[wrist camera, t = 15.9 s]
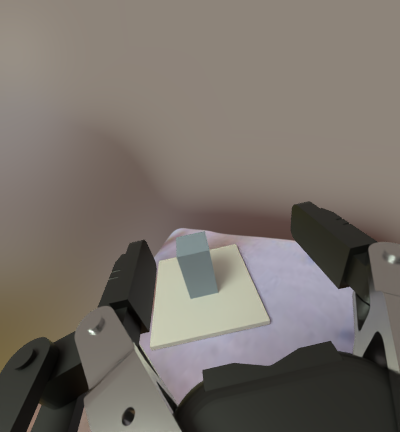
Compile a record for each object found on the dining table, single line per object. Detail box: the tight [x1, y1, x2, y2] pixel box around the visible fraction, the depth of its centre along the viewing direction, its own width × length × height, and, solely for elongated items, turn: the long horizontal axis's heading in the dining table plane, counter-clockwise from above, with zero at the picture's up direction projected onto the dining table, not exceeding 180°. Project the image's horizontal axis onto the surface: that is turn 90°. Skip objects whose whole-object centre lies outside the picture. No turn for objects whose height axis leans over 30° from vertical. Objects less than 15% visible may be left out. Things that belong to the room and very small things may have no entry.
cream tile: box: [150, 244, 270, 351], centre depth 35 cm, size 18×18×1 cm
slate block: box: [176, 231, 218, 299], centre depth 32 cm, size 5×5×10 cm
